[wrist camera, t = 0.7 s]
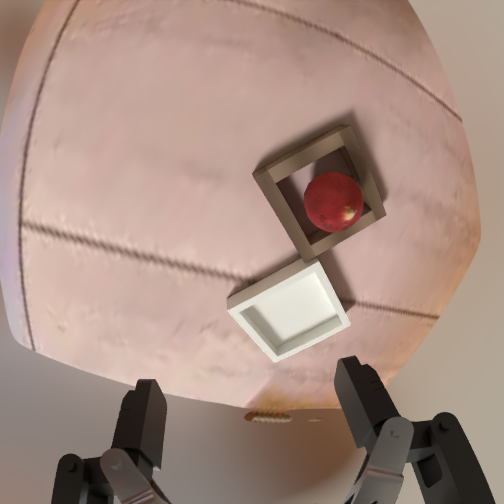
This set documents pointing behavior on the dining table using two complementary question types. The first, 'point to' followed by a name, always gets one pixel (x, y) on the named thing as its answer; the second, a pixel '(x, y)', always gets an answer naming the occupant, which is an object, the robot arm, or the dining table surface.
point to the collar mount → (301, 158)
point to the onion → (333, 201)
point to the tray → (289, 309)
